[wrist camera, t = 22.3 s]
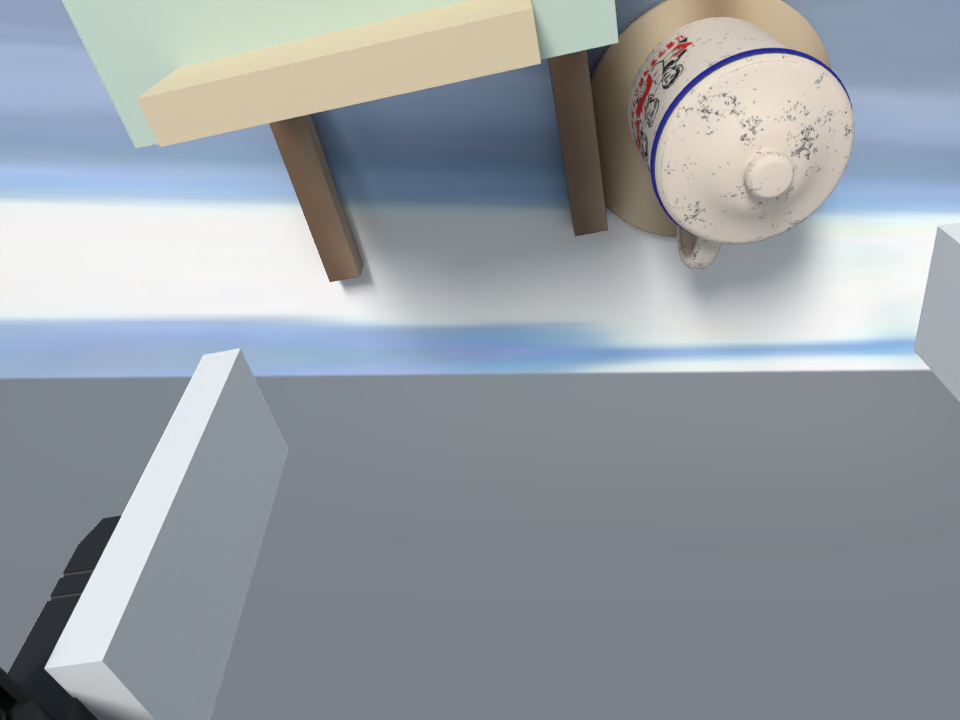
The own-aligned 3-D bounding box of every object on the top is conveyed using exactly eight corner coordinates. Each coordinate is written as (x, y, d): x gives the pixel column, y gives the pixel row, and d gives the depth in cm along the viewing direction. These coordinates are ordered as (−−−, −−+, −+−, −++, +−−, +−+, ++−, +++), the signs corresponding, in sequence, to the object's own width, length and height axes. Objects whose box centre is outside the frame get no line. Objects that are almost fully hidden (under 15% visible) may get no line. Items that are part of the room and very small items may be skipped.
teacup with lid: (642, 0, 37) (697, 55, 28) (814, 19, 38) (925, 79, 28) (597, 215, 44) (629, 318, 35) (742, 229, 45) (812, 334, 35)
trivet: (593, 250, 46) (595, 256, 46) (563, 18, 38) (564, 21, 38) (819, 208, 45) (824, 214, 44) (836, -43, 37) (842, -41, 36)
